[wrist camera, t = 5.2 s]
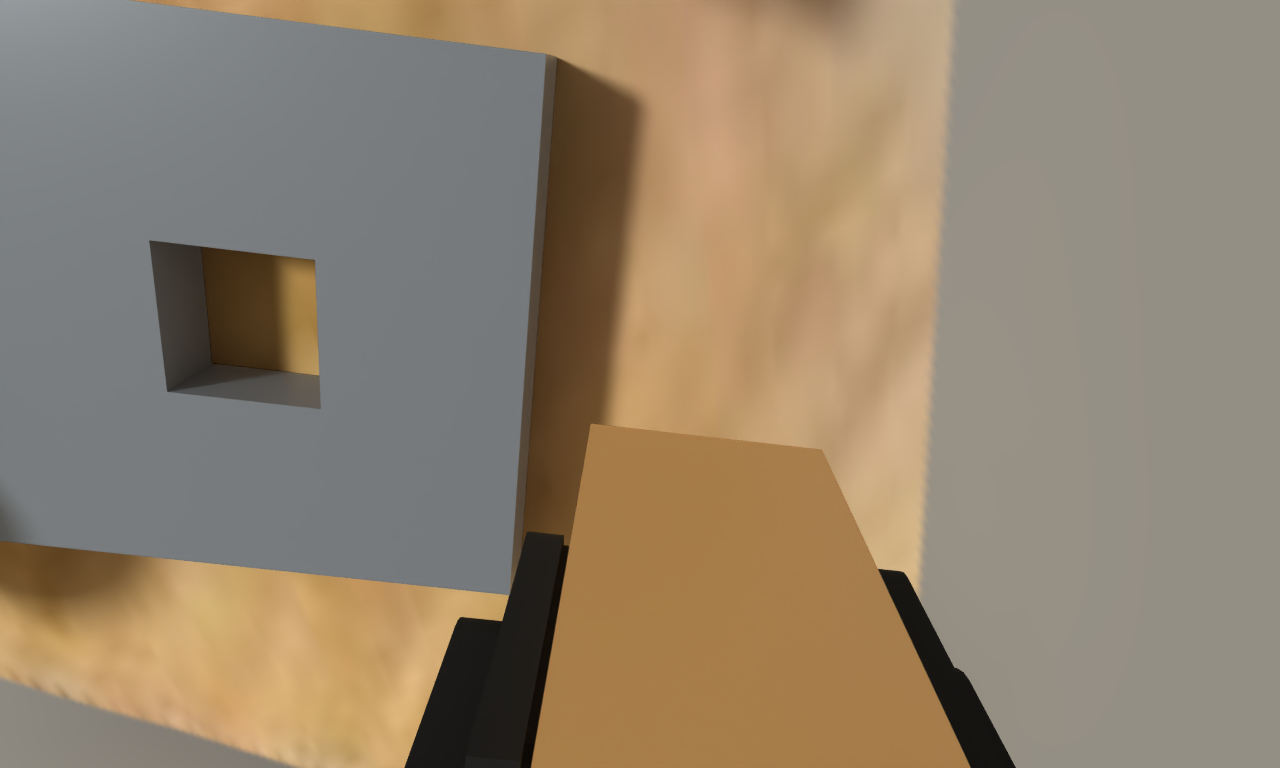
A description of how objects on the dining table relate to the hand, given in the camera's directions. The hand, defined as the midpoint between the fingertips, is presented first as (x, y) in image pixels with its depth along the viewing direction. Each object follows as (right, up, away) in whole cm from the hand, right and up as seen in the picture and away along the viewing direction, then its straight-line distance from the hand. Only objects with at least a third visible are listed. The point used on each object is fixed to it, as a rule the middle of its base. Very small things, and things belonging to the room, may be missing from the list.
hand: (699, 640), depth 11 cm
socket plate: (-15, +7, +18) cm, 24 cm away
